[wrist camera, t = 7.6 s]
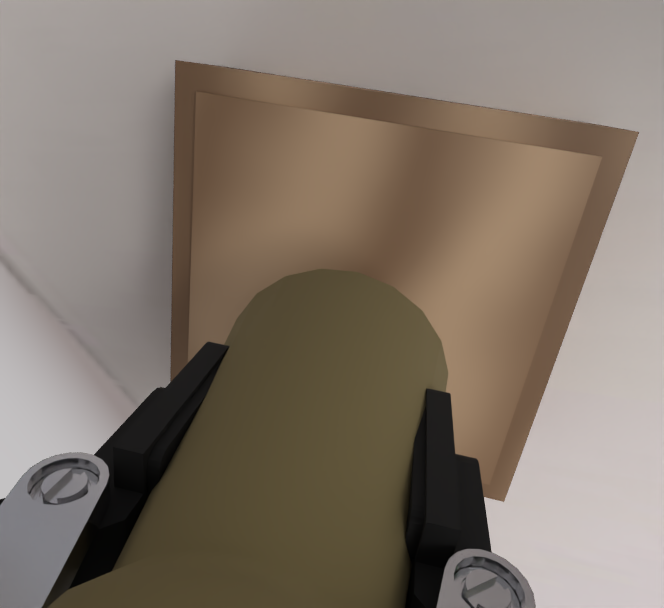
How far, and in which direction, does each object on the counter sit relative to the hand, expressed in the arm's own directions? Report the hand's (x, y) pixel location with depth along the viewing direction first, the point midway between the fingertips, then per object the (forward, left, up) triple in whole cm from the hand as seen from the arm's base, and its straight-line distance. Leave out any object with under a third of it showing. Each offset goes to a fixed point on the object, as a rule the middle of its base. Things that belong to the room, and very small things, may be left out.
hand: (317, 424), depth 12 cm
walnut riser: (0, 0, -11) cm, 11 cm away
